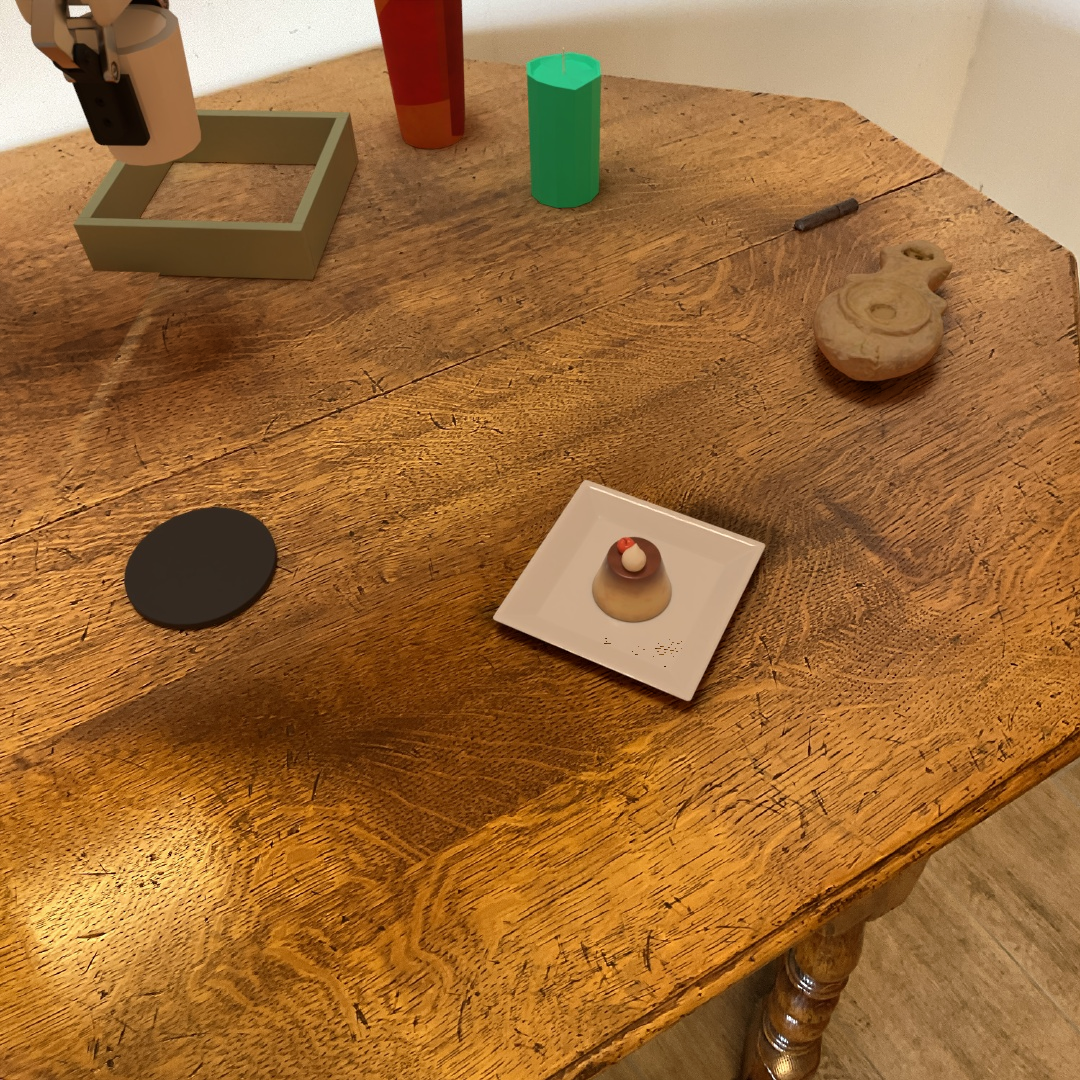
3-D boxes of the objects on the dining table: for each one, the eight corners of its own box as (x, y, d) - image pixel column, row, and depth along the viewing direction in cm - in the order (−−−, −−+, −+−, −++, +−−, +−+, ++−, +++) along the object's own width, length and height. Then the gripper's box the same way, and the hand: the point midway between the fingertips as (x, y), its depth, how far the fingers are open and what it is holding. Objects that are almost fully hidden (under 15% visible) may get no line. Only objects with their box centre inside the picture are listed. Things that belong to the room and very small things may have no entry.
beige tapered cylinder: (79, 144, 63) (33, 29, 57) (173, 104, 66) (137, -9, 60) (137, 184, 60) (93, 67, 54) (232, 139, 63) (201, 24, 57)
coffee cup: (443, 101, 97) (425, -70, 85) (495, 133, 93) (484, -42, 81) (370, 131, 94) (342, -43, 82) (421, 166, 89) (398, -12, 78)
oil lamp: (928, 280, 77) (947, 222, 73) (973, 407, 68) (997, 349, 64) (789, 279, 77) (800, 223, 74) (814, 406, 68) (829, 349, 64)
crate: (94, 273, 80) (72, 224, 77) (166, 155, 92) (150, 108, 88) (312, 280, 79) (300, 230, 76) (358, 159, 90) (350, 111, 87)
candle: (522, 204, 85) (516, 62, 76) (539, 167, 89) (535, 28, 79) (591, 211, 84) (593, 69, 75) (605, 173, 88) (609, 33, 78)
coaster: (105, 625, 58) (101, 619, 58) (156, 509, 64) (152, 503, 63) (255, 634, 57) (252, 628, 57) (293, 516, 63) (291, 510, 63)
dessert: (584, 490, 64) (585, 437, 60) (763, 555, 60) (776, 502, 56) (492, 629, 57) (487, 579, 54) (687, 712, 54) (696, 664, 50)
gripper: (17, -295, 53) (131, 46, 67) (-147, -195, 42) (30, 187, 56) (154, -297, 53) (241, 46, 66) (25, -197, 42) (161, 189, 55)
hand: (144, 108), depth 61 cm, fingers closed on beige tapered cylinder, 6 cm apart
